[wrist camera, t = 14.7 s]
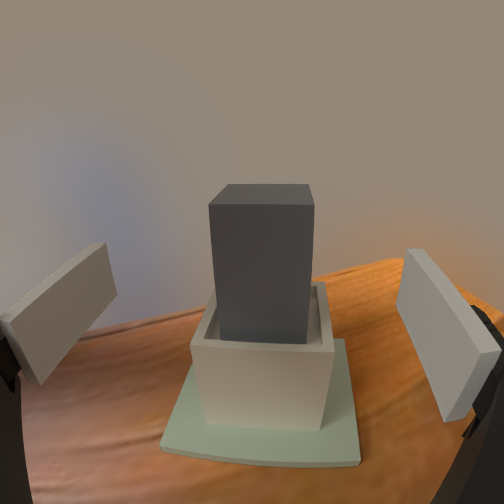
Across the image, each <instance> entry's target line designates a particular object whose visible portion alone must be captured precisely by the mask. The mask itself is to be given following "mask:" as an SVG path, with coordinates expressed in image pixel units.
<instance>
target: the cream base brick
mask: <svg viewBox="0 0 504 504" xmlns="http://www.w3.org/2000/svg"><path fill="white" fill-rule="evenodd" d="M190 349H191V354H192V359H193V365H194V370H195V375H196V379H197V384H198V389H199V394H200V398H201V403H202V407H203V412H204V416H205V420H206V423H211V424H219V425H228V426H238V427H249V428H262V429H279V430H320V426H321V421H322V417H323V412H324V407H325V402H326V398H327V393H328V387H329V382H330V377H331V372H332V366H333V360H334V354H335V349H334V341H333V334H332V327H331V320H330V313H329V306H328V299H327V293H326V287H325V282H311V289H310V304H309V317H308V329H307V341H306V344H275V343H254V342H238V341H223V340H221V339H220V330H219V320H218V311H217V300H216V290H214V292H213V294H212V297H211V299H210V301H209V303H208V305H207V307H206V310H205V312H204V314H203V316H202V318H201V321H200V323H199V325H198V327H197V329H196V332H195V334H194V336H193V338H192V341H191V343H190Z"/></svg>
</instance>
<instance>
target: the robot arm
mask: <svg viewBox="0 0 504 504" xmlns="http://www.w3.org/2000/svg"><path fill="white" fill-rule="evenodd" d="M116 296H117V292H116V288H115V284H114V279H113V275H112V271H111V266H110V262H109V257H108V252H107V247H106V243H92V244H91V245H89V246H88V247H87V248H85V249H84V250H82V251H81V252H80V253H78V254H77V255H76V256H74V257H73V258H72V259H70V260H69V261H68V262H66V263H65V264H64V265H62V266H61V267H60V268H58V269H57V270H56V271H54V272H53V273H52V274H51V275H49V276H48V277H47V278H46V279H44V280H43V281H42V282H40V283H39V284H38V285H37V286H36V287H34V288H33V289H32V290H31V291H29V292H28V293H27V294H26V295H25V296H23V297H22V298H21V299H20V300H18V301H17V302H16V303H15V304H14V305H13V306H12V307H10V308H9V309H8V310H7V311H6V312H4V313H3V314H2V315H1V316H0V504H33V501H32V496H31V491H30V486H29V480H28V474H27V468H26V461H25V453H24V443H23V432H22V418H21V382H20V378H19V376H18V375H17V373H18V372H19V371H20V369H22V371H23V373H24V375H25V376H26V378H27V380H28V381H30V382H32V383H35V384H37V385H40V386H42V384H43V383H44V382H45V381H46V379H47V378H48V377H49V375H50V374H51V373H52V372H53V370H54V369H55V368H56V367H57V365H58V364H59V363H60V362H61V360H62V359H63V358H64V357H65V356H66V354H67V353H68V352H69V351H70V349H71V348H72V347H73V346H74V345H75V343H76V342H77V341H78V340H79V339H80V337H81V336H82V335H83V334H84V333H85V332H86V330H87V329H88V328H89V327H90V326H91V325H92V323H93V322H94V321H95V320H96V319H97V318H98V316H99V315H100V314H101V313H102V312H103V311H104V310H105V308H106V307H107V306H108V305H109V304H110V303H111V302H112V301H113V299H114V298H115V297H116ZM396 307H397V310H398V312H399V314H400V316H401V318H402V320H403V322H404V325H405V327H406V329H407V331H408V333H409V336H410V338H411V340H412V343H413V345H414V347H415V349H416V352H417V354H418V357H419V359H420V361H421V364H422V366H423V369H424V371H425V374H426V376H427V379H428V381H429V384H430V386H431V389H432V391H433V394H434V397H435V399H436V402H437V405H438V408H439V410H440V413H441V416H442V419H443V422H444V423H446V422H451V421H456V420H461V419H464V418H465V417H466V415H467V413H468V412H469V410H470V409H471V407H472V406H473V408H474V411H475V413H476V416H475V417H474V419H473V420H472V422H471V423H470V425H469V426H468V428H467V429H466V431H465V432H464V433H463V435H462V436H461V437H465V438H464V441H463V443H462V445H461V447H460V449H459V451H458V453H457V456H456V458H455V460H454V462H453V464H452V466H451V468H450V469H449V471H448V473H447V475H446V477H445V479H444V481H443V482H442V484H441V486H440V488H439V490H438V491H437V493H436V495H435V496H434V498H433V500H432V501H431V503H430V504H504V338H503V336H502V335H501V334H500V332H499V331H497V328H496V327H495V326H494V324H493V323H491V320H490V319H489V318H488V316H487V315H486V314H485V313H484V312H483V311H482V310H480V309H479V308H478V307H476V306H475V305H469V304H468V303H467V301H466V300H465V299H464V297H463V296H462V295H461V294H460V292H459V291H458V290H457V289H456V287H455V286H454V285H453V284H452V282H451V281H450V280H449V279H448V278H447V276H446V275H445V274H444V273H443V272H442V270H441V269H440V268H439V267H438V266H437V265H436V263H435V262H434V261H433V260H432V259H431V258H430V257H429V255H428V254H427V253H426V252H425V251H424V250H423V249H411V248H409V249H408V248H407V249H406V255H405V261H404V267H403V272H402V277H401V283H400V288H399V293H398V297H397V302H396Z"/></svg>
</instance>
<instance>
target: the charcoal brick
mask: <svg viewBox="0 0 504 504" xmlns="http://www.w3.org/2000/svg"><path fill="white" fill-rule="evenodd" d="M209 219H210V230H211V231H210V232H211V245H212V256H213V268H214V279H215V290H216V300H217V311H218V320H219V330H220V339H221V340H223V341H238V342H254V343H275V344H306V341H307V329H308V317H309V304H310V289H311V273H312V254H313V233H314V202H313V198H312V195H311V191H310V188H309V185H308V184H228V185H227V186H226V187H225V188H224V189H223V190H222V191H221V192H220V193H219V194H218V195H217V196H216V197H215V198H214V199H213V200H212V201H211V202H210V203H209Z"/></svg>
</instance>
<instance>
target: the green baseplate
mask: <svg viewBox="0 0 504 504" xmlns="http://www.w3.org/2000/svg"><path fill="white" fill-rule="evenodd" d="M333 341H334V349H335V354H334V360H333V366H332V372H331V377H330V382H329V387H328V393H327V398H326V402H325V407H324V412H323V417H322V421H321V426H320V430H279V429H262V428H249V427H238V426H228V425H219V424H211V423H206V420H205V416H204V412H203V407H202V403H201V398H200V394H199V389H198V384H197V379H196V375H195V370H194V365H193V362H192V364H191V367H190V369H189V372H188V374H187V377H186V379H185V382H184V384H183V387H182V389H181V392H180V394H179V397H178V399H177V402H176V404H175V407H174V409H173V412H172V414H171V417H170V419H169V422H168V424H167V427H166V429H165V432H164V434H163V437H162V439H161V442H160V444H159V446H160V448H161V450H162V451H163V452H168V453H173V454H178V455H183V456H188V457H194V458H200V459H206V460H212V461H220V462H227V463H236V464H246V465H257V466H272V467H297V468H324V467H350V466H358V465H359V463H360V461H361V457H360V447H359V438H358V430H357V421H356V414H355V406H354V399H353V392H352V385H351V378H350V372H349V366H348V359H347V353H346V348H345V342H344V338H333Z"/></svg>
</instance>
